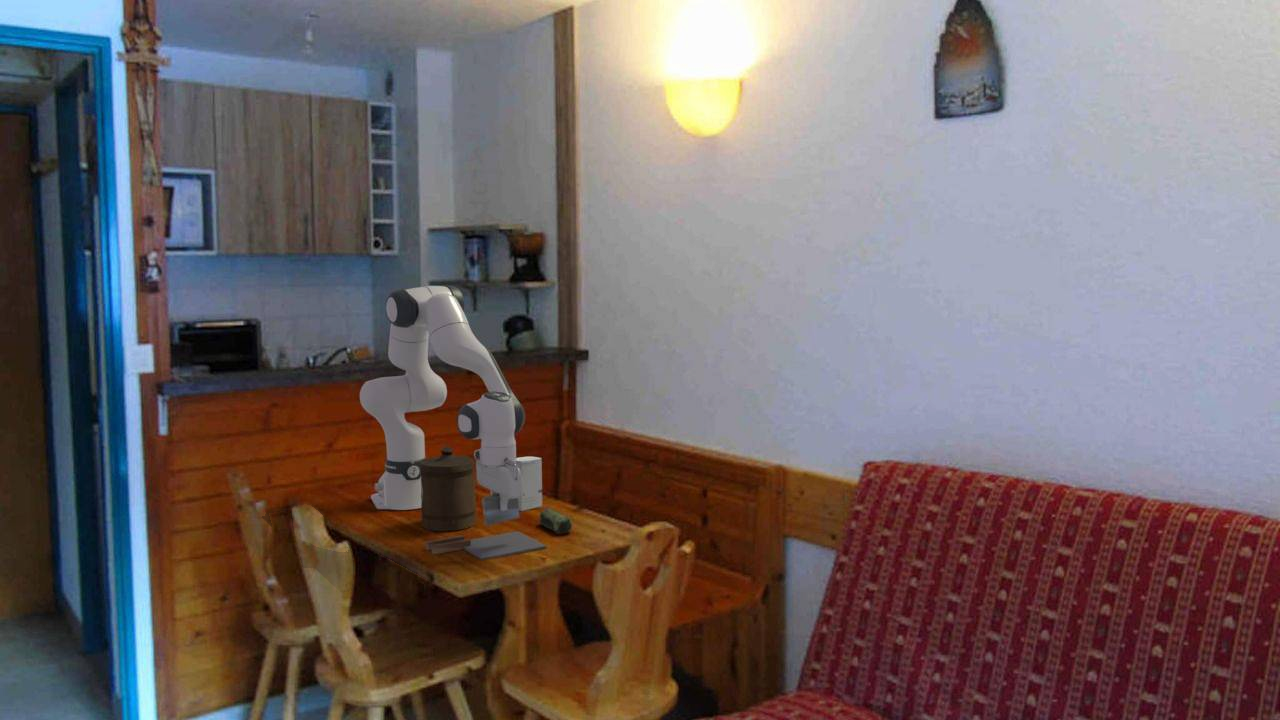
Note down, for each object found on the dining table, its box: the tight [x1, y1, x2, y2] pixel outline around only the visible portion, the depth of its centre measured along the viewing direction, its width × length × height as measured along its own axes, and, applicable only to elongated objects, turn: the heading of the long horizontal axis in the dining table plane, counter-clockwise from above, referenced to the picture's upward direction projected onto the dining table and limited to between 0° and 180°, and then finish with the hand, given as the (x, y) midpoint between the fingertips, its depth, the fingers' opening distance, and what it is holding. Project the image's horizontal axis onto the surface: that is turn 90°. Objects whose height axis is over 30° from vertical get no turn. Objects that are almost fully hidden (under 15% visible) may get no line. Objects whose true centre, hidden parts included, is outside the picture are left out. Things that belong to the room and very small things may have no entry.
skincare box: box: [515, 455, 543, 512], centre depth 296 cm, size 8×6×15 cm
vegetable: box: [539, 507, 573, 535], centre depth 273 cm, size 14×5×5 cm, turn 32°
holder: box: [424, 534, 471, 555], centre depth 256 cm, size 6×10×2 cm, turn 123°
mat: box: [462, 530, 547, 561], centre depth 258 cm, size 16×18×1 cm
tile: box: [481, 494, 520, 526], centre depth 257 cm, size 2×9×7 cm, turn 123°
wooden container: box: [420, 445, 477, 532], centre depth 278 cm, size 15×15×22 cm
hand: (500, 508), depth 257 cm, fingers closed on tile, 2 cm apart
